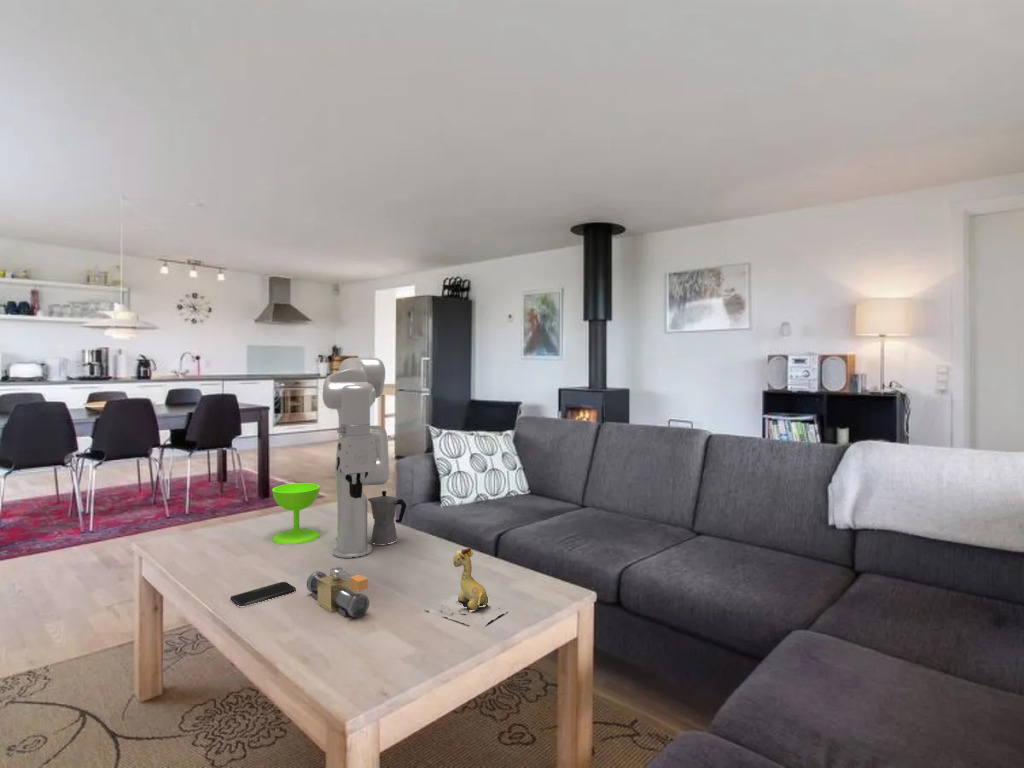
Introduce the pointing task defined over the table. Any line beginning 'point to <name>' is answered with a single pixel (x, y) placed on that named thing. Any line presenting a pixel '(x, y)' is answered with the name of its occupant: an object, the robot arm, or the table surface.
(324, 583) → the valve pipe
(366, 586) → the valve lever
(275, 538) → the wineglass
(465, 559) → the stuffed giraffe
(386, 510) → the coffeepot
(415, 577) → the table surface
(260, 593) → the phone
